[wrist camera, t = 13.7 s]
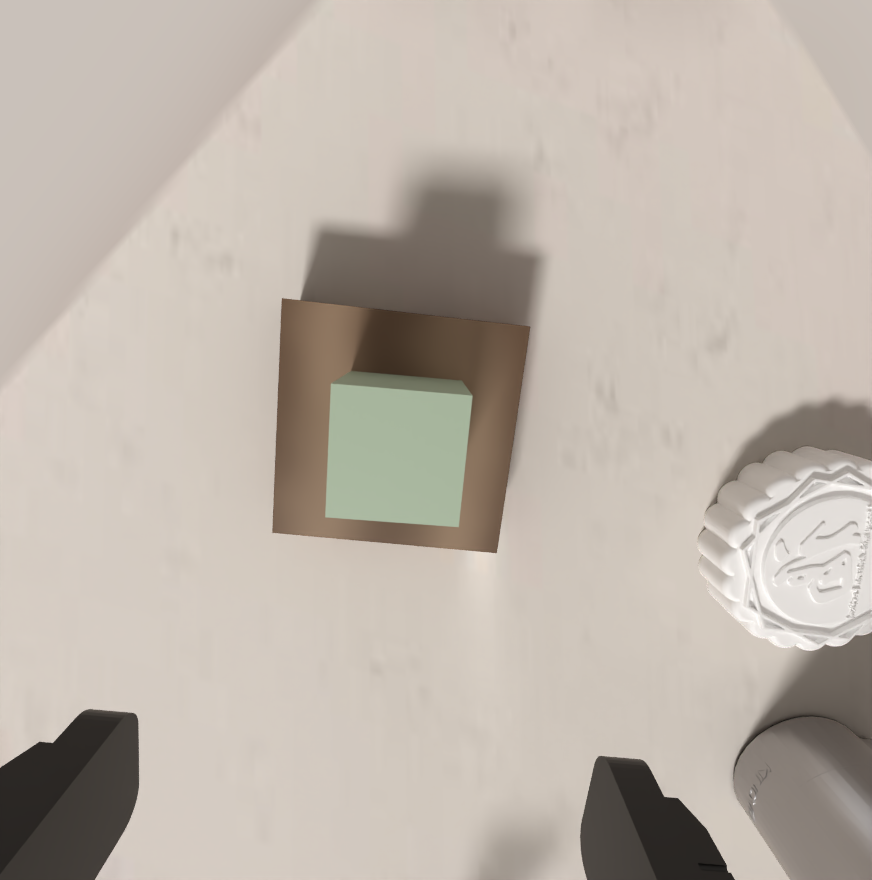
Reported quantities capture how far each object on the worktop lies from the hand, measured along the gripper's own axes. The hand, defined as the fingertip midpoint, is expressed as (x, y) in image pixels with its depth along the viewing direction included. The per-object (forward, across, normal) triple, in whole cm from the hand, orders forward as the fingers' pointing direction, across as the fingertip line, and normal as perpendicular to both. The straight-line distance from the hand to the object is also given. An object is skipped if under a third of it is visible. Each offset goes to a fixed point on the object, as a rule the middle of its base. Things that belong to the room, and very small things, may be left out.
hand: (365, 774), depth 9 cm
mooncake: (+22, -24, +2) cm, 33 cm away
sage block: (+18, 0, -3) cm, 18 cm away
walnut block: (+22, +1, -2) cm, 22 cm away
